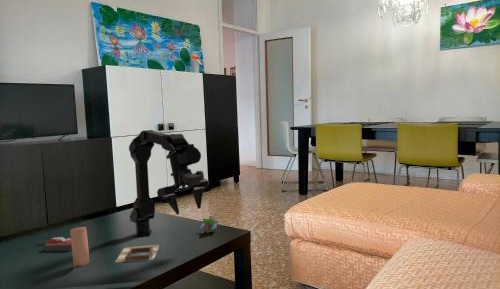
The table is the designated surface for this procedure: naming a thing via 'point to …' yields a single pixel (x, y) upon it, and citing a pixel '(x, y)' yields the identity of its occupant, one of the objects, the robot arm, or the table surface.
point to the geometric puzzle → (209, 225)
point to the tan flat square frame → (126, 250)
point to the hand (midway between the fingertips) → (188, 211)
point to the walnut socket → (139, 257)
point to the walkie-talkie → (57, 244)
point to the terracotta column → (79, 246)
